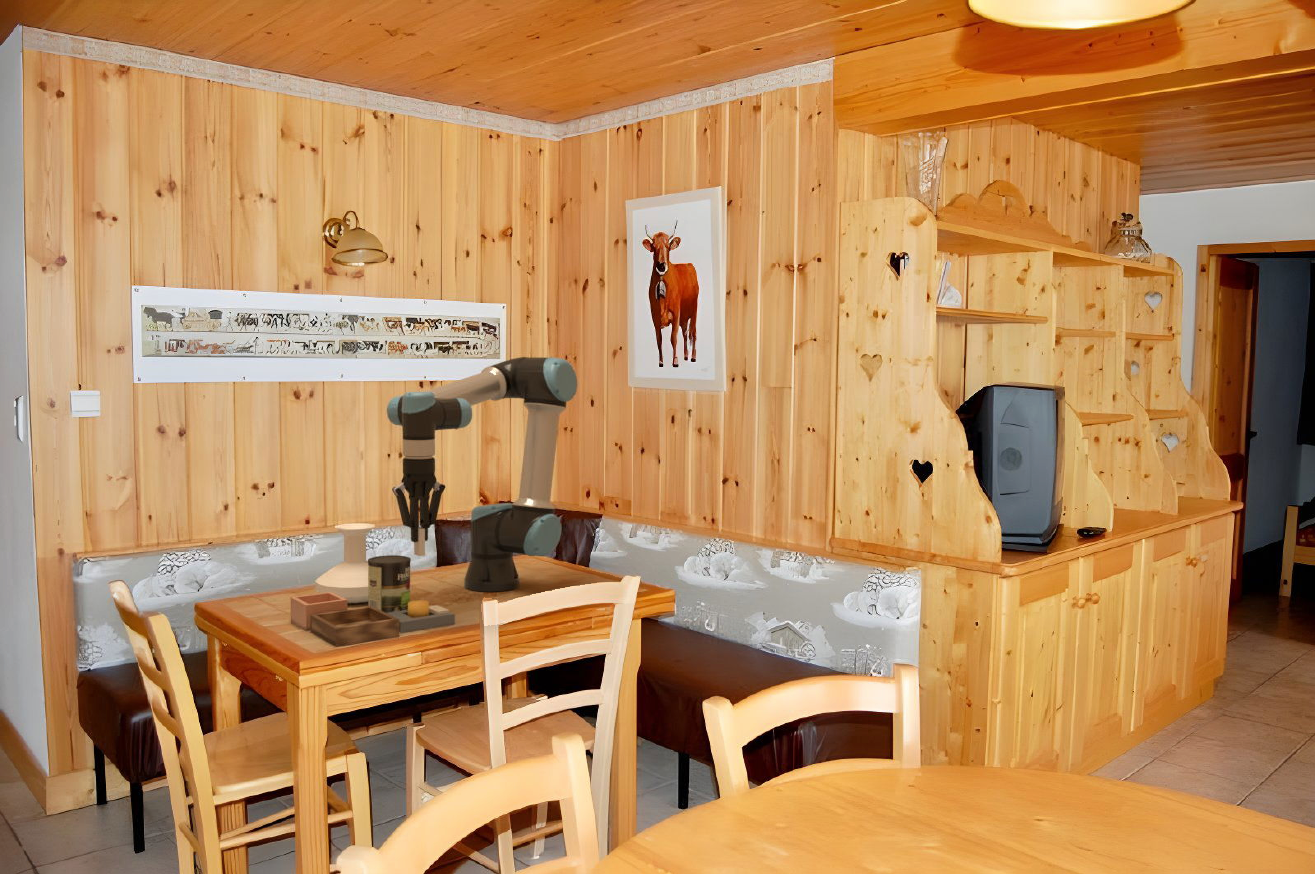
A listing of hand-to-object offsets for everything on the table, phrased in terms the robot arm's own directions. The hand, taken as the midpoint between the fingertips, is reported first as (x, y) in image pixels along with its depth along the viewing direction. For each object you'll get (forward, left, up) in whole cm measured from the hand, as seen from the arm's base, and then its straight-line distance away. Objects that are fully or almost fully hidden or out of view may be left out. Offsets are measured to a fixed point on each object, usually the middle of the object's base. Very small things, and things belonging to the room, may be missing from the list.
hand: (419, 554), depth 251 cm
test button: (0, 0, -16) cm, 16 cm away
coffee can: (+2, -12, -17) cm, 21 cm away
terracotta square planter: (+19, -14, -17) cm, 29 cm away
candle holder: (+2, -33, -17) cm, 37 cm away
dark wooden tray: (+16, 0, -17) cm, 23 cm away
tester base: (0, 0, -17) cm, 17 cm away
